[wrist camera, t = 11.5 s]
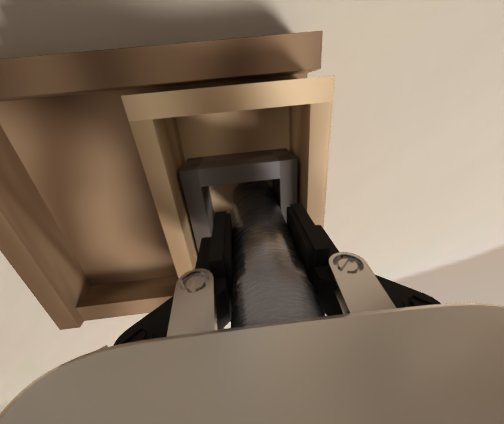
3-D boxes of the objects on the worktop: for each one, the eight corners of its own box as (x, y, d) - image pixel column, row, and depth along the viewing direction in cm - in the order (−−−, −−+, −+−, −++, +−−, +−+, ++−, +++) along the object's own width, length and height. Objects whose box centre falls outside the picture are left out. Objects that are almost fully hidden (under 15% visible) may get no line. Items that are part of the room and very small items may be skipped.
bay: (302, 45, 14) (327, 27, 11) (298, 265, 23) (312, 298, 19) (-37, 75, 14) (-138, 67, 10) (89, 290, 22) (60, 329, 18)
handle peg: (273, 176, 15) (394, 417, 4) (274, 214, 17) (366, 475, 5) (229, 181, 15) (219, 441, 4) (234, 219, 17) (238, 494, 5)
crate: (302, 82, 14) (334, 75, 10) (299, 258, 20) (317, 303, 16) (156, 96, 14) (120, 95, 9) (200, 270, 20) (191, 319, 16)
